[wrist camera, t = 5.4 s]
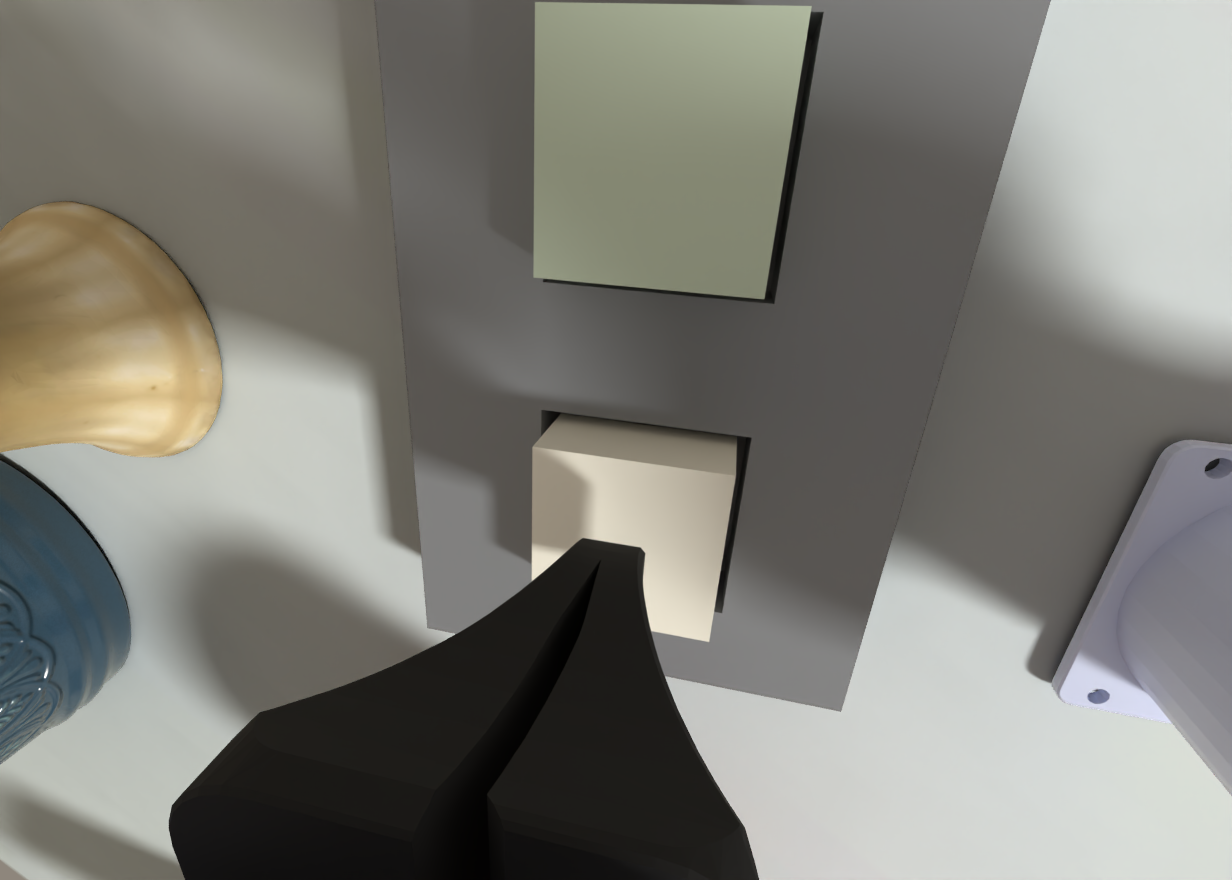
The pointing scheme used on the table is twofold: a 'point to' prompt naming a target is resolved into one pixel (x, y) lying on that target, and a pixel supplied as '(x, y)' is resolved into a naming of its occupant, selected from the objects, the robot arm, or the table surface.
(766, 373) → the keypad
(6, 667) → the canister
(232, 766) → the robot arm
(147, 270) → the hand bell
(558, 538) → the cream key
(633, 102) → the sage key
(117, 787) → the table surface
